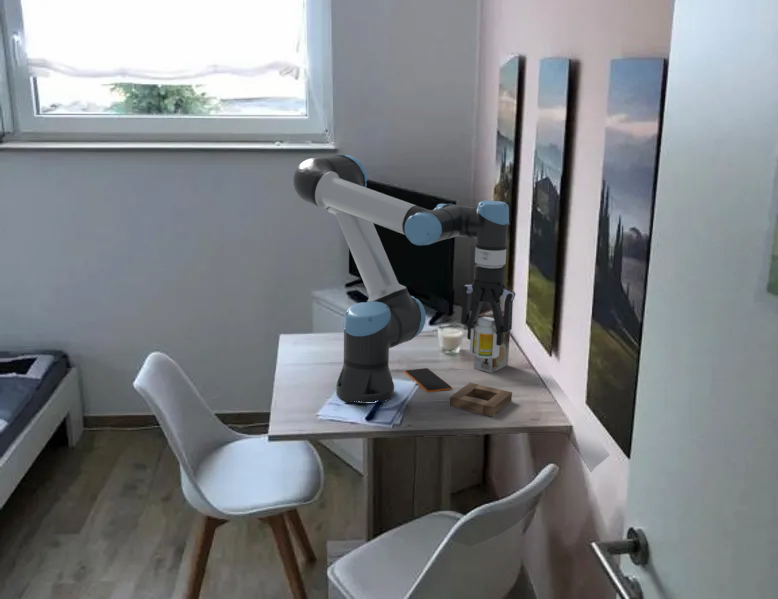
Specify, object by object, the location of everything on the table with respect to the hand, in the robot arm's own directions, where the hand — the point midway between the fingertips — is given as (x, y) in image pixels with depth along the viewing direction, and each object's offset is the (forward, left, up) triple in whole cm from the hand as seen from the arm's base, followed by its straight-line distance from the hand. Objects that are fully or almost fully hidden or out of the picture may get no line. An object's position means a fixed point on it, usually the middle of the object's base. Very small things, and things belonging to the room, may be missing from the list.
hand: (484, 354), depth 213 cm
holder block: (0, 0, -13) cm, 13 cm away
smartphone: (-19, +7, -14) cm, 25 cm away
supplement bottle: (0, 0, -1) cm, 1 cm away
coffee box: (-9, +27, -14) cm, 32 cm away
